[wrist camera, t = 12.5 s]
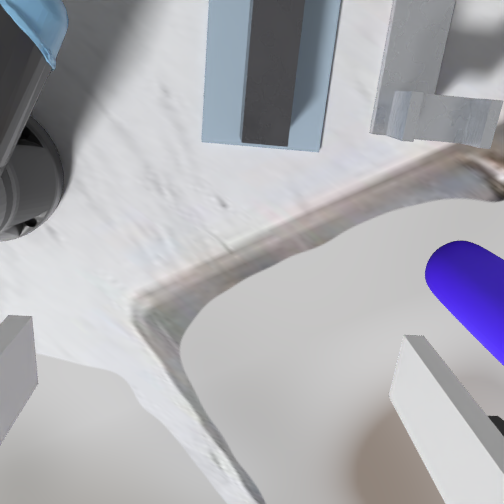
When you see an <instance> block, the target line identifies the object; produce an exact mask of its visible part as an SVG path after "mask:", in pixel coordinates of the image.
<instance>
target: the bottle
mask: <svg viewBox="0 0 504 504" xmlns="http://www.w3.org/2000/svg"><path fill="white" fill-rule="evenodd" d="M425 279H426V282H427V285H428V287H429V288H430V290H431V291H432V293H433V294H434V295H435V296H436V297H437V298H438V299H439V301H440V302H441V303H442V304H443V305H444V306H445V307H446V308H447V309H448V310H449V311H450V312H451V313H452V314H453V315H454V316H455V317H456V318H457V319H458V320H459V322H461V323H462V325H464V326H465V328H466V329H467V330H468V331H469V332H470V333H471V334H472V335H473V336H474V337H475V338H476V339H477V340H478V341H479V342H480V343H481V344H482V345H483V346H484V347H485V348H486V349H487V350H488V351H489V352H490V353H491V354H492V355H493V356H494V357H495V358H496V359H497V360H498V361H499V362H500V363H502V365H504V260H503V259H501V258H500V257H498V256H496V255H495V254H493V253H491V252H490V251H488V250H486V249H484V248H483V247H481V246H479V245H476V244H474V243H471V242H468V241H454V242H450V243H447V244H445V245H443V246H442V247H440V248H439V249H437V250H436V251H435V252H434V253H433V254H432V256H431V257H430V259H429V261H428V263H427V266H426V270H425Z"/></svg>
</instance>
